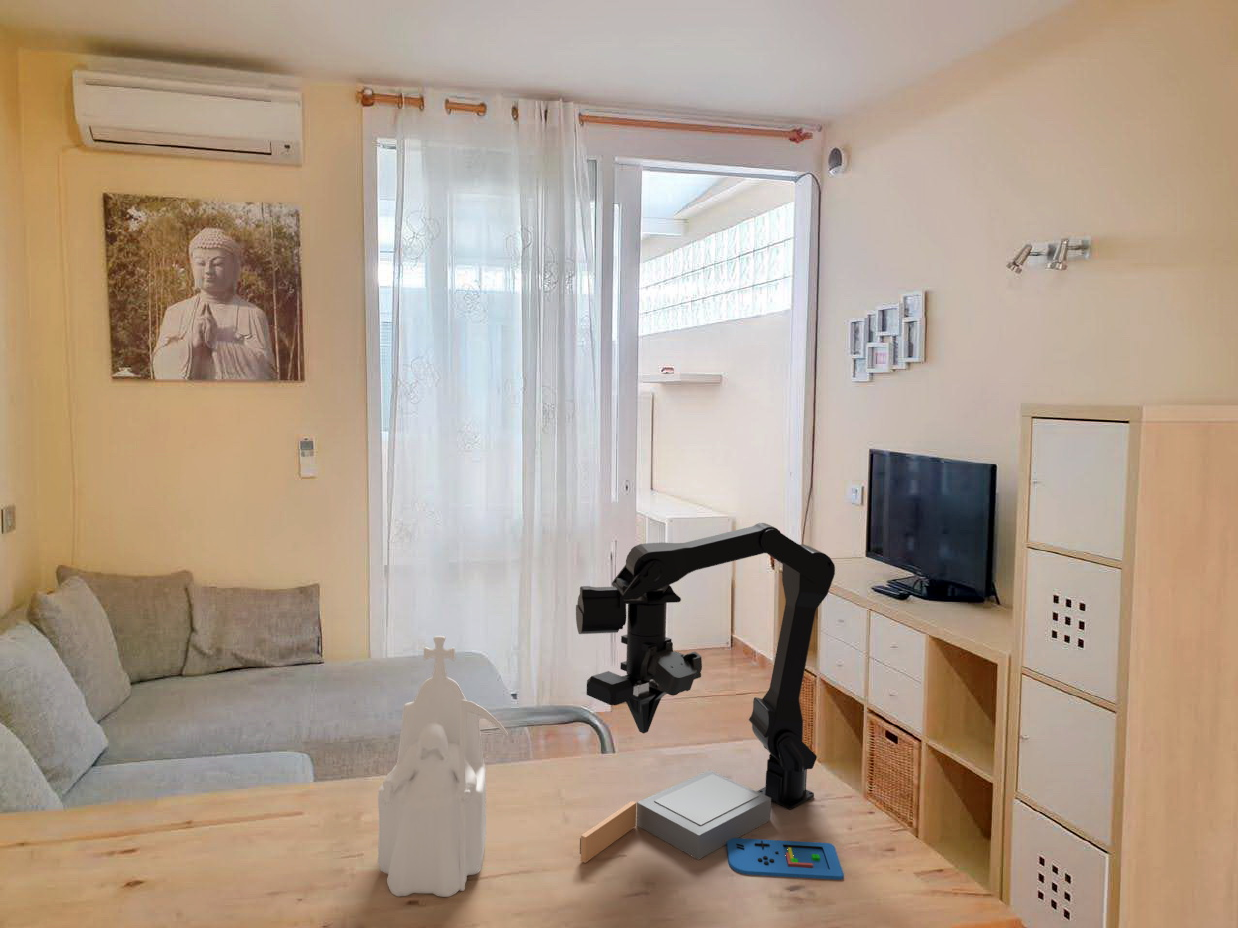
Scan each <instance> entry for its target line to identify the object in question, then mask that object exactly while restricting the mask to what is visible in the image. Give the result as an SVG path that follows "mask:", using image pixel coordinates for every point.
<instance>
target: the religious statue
mask: <svg viewBox="0 0 1238 928" xmlns="http://www.w3.org/2000/svg"><path fill="white" fill-rule="evenodd" d="M445 640H446V637H445V636H444V635H435V636H433V642H434V645H435V647H434V648H431V647H428V646H424V648H423V661H427V660H429V659H430V658H434V667H433V672H432V676H431V677H429V678H427V679H426V680H425V681H423V682H422V683H421V685H420V687H419V689H418V691H417V694H416V696H415V698H414V700H413V701H411V702H409V701H408V702H405V704H404V705H403V707H402V717H401V726H400V727H401V728H400V735H399V746H398V754H397V761H396V764H395V765H394V766H393V768H392V770H391V771H390V772H388V774H387V775H386V776H385V778H384V779H383V782H382V783H381V785H380V787H379V789H378V794H377V806H378V808H377V809H378V843H377V844H378V846H377V848H378V849H377V852H378V854H377V864H378V869H379V871H381V872H382V873H384V874H387V879H386V883H387V887H388V890H389V891H390V892H391V894H392V895H394V896H396V897H406V896H409V895H412V894H434V895H435V896H437V897H443V898H449V897H452V896H454V895H455V894H457V893H458V892H459V891H460V892H463V891H465V890H466V883H467V880H468V877H467V876H474V875H477V874H479V872H480V871H481V870H482V866H483V865H482V864H483V860H484V852H485V846H486V840H487V839H486V838H487V837H486V836H487V805H486V804H487V769H486V765H485V761H484V754H483V743H482V735H481V734H482V733H481V727H480V725H481V724H480V717H481V718H483V719H484V720H486V721H487V722H489V723H491V724H492V725H494V726H495V727H496V728H497V729H500V731H502V732H503V733H504V734H505V735H506V737H507V738H508V737H509V733H508V731H507V730H506V728H505V727H504V725H502V723H501V722H500V721H498V719H497V718H495V716H493V714H491V713H490V711H488V710H487V709H485V708H484V707H483V706H481V705H479V704H477V703H476V702H474V701H472V700H467V698H466V696H465V694H464V693H463V689H461V687H460V685H459V683H458V682H457V681H456V680H454V679H453V678H451V677H449V676H447V675H448V672H447V669H446V664H445V659H449V660H451V661H453V662H454V661H455V660H456V648H455V646H453V647H450V648H448V649H446V648H444V643H445Z"/></svg>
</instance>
